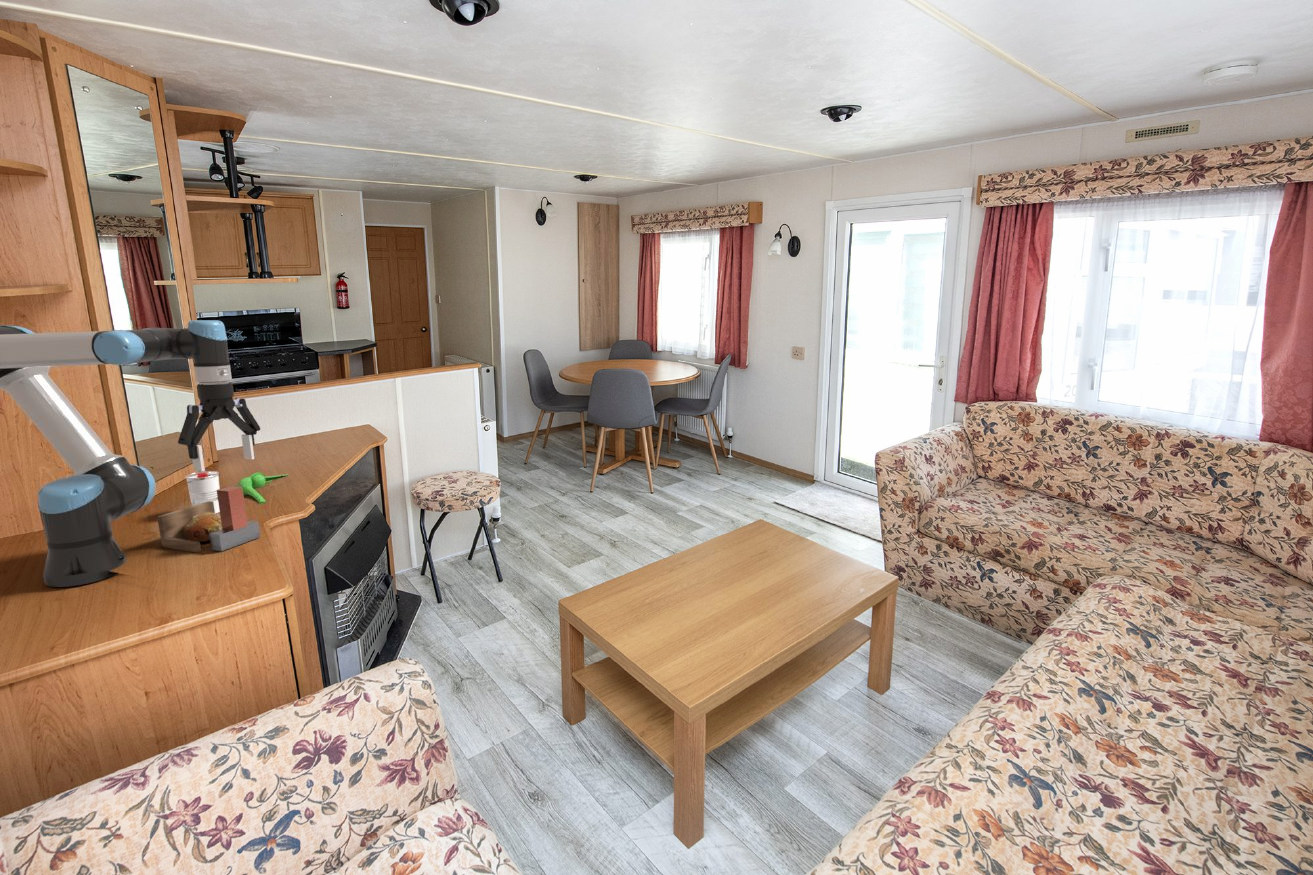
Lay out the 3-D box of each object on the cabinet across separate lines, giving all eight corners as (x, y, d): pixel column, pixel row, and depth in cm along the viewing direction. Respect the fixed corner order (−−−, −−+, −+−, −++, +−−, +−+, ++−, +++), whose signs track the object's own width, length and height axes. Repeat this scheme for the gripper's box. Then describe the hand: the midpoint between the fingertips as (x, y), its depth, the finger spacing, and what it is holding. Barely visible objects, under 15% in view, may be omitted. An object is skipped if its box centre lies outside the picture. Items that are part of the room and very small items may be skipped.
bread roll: (228, 540, 179) (222, 512, 180) (235, 534, 172) (228, 505, 172) (185, 549, 172) (179, 520, 173) (190, 543, 165) (183, 513, 166)
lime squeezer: (266, 505, 203) (263, 486, 201) (224, 508, 200) (221, 489, 198) (295, 478, 235) (293, 462, 233) (259, 480, 232) (257, 464, 230)
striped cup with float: (205, 518, 189) (199, 479, 187) (181, 516, 191) (175, 478, 189) (233, 508, 199) (228, 471, 197) (210, 506, 201) (204, 469, 198)
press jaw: (223, 551, 163) (214, 495, 160) (211, 549, 164) (203, 493, 161) (261, 537, 173) (254, 483, 170) (250, 535, 175) (243, 482, 172)
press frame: (196, 552, 163) (191, 522, 161) (159, 546, 167) (154, 517, 166) (251, 532, 177) (247, 505, 176) (215, 527, 182) (211, 500, 180)
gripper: (174, 389, 147) (187, 477, 152) (269, 378, 171) (278, 455, 175) (151, 387, 150) (165, 475, 154) (248, 377, 173) (257, 453, 177)
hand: (225, 464), depth 164 cm, fingers open, 13 cm apart
